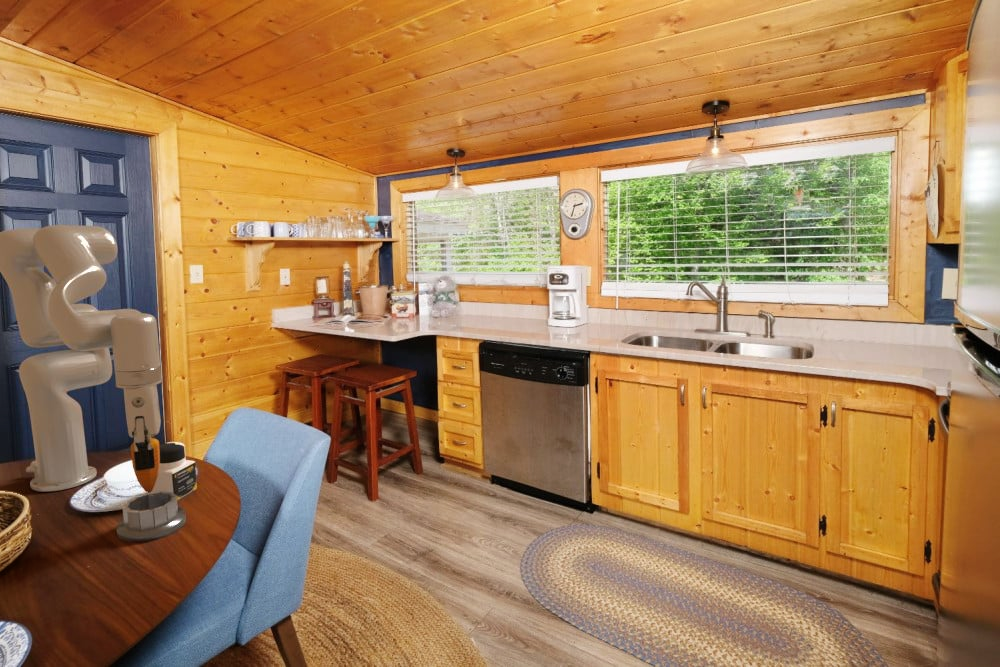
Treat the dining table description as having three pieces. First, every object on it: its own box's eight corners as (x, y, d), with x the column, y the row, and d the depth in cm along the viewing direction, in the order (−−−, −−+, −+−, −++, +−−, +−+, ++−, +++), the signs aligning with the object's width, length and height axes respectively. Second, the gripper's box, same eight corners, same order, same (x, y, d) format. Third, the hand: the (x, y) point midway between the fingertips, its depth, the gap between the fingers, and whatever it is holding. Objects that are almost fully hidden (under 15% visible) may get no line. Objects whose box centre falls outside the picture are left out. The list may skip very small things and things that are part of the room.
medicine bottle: (174, 502, 123) (170, 452, 121) (147, 499, 125) (143, 449, 123) (197, 488, 130) (194, 440, 128) (172, 485, 131) (168, 438, 129)
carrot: (145, 486, 114) (138, 418, 112) (168, 487, 114) (162, 418, 112) (128, 497, 109) (121, 426, 107) (153, 498, 109) (147, 426, 107)
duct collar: (102, 539, 108) (99, 513, 107) (147, 510, 119) (145, 486, 119) (158, 544, 106) (155, 518, 105) (198, 514, 118) (196, 490, 117)
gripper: (158, 384, 102) (166, 476, 105) (163, 365, 117) (170, 446, 120) (109, 389, 98) (119, 484, 102) (120, 368, 113) (129, 452, 116)
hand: (146, 463), depth 111 cm, fingers closed on carrot, 4 cm apart
